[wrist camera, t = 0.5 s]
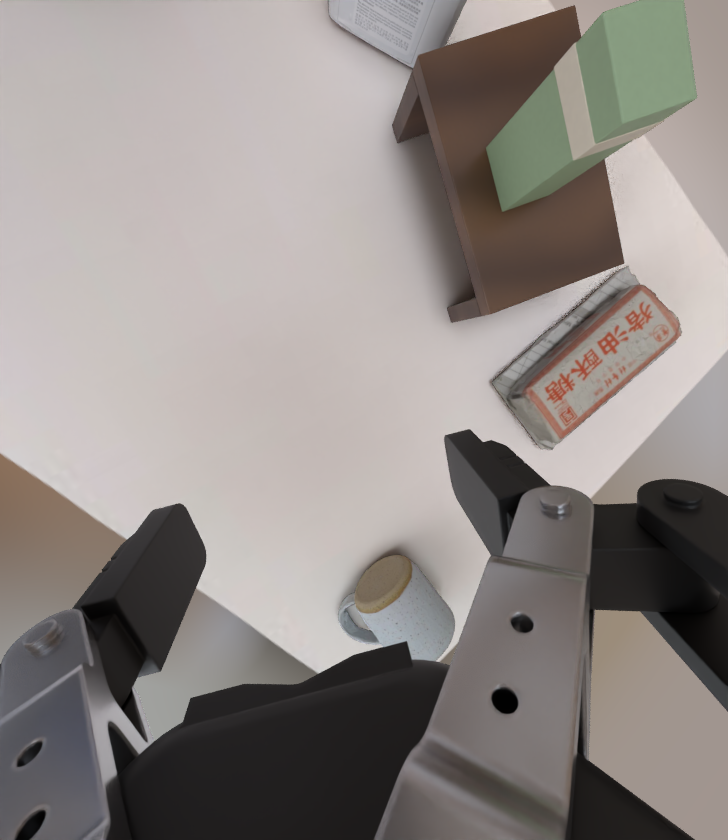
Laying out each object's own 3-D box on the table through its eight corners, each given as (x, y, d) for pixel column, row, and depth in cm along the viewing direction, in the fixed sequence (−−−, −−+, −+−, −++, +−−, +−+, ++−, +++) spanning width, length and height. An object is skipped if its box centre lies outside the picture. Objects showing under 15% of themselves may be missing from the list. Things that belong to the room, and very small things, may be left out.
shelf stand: (391, 125, 33) (417, 54, 25) (513, 84, 34) (575, 4, 26) (451, 322, 37) (489, 314, 29) (559, 281, 38) (624, 263, 30)
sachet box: (484, 147, 27) (601, 10, 16) (535, 129, 27) (683, -17, 16) (501, 213, 28) (622, 125, 17) (550, 195, 28) (699, 98, 17)
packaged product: (569, 463, 36) (511, 385, 34) (538, 451, 41) (487, 382, 38) (710, 340, 36) (662, 254, 34) (663, 342, 41) (619, 266, 38)
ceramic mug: (400, 537, 40) (420, 580, 32) (440, 589, 42) (468, 641, 34) (320, 596, 40) (322, 652, 33) (364, 645, 42) (376, 709, 34)
